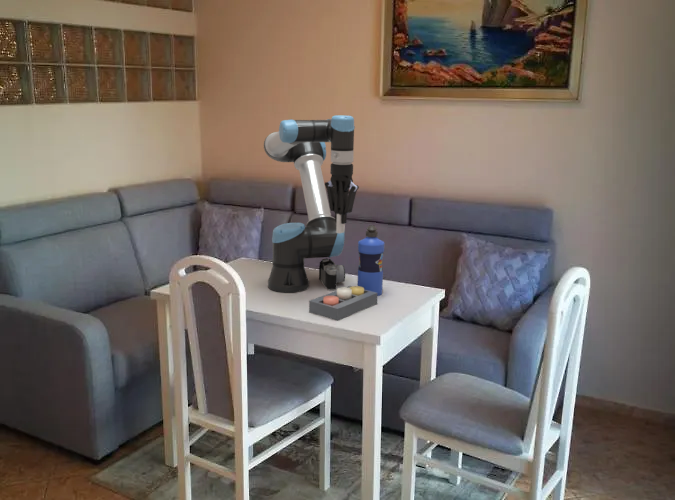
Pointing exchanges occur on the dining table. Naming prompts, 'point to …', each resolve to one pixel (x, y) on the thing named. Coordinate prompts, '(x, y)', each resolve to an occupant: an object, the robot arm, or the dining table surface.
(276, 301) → the dining table surface
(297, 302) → the dining table surface
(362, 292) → the ochre button
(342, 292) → the ivory button
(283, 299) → the dining table surface
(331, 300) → the coral button
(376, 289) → the water bottle
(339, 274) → the camera
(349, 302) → the console
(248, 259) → the dining table surface
